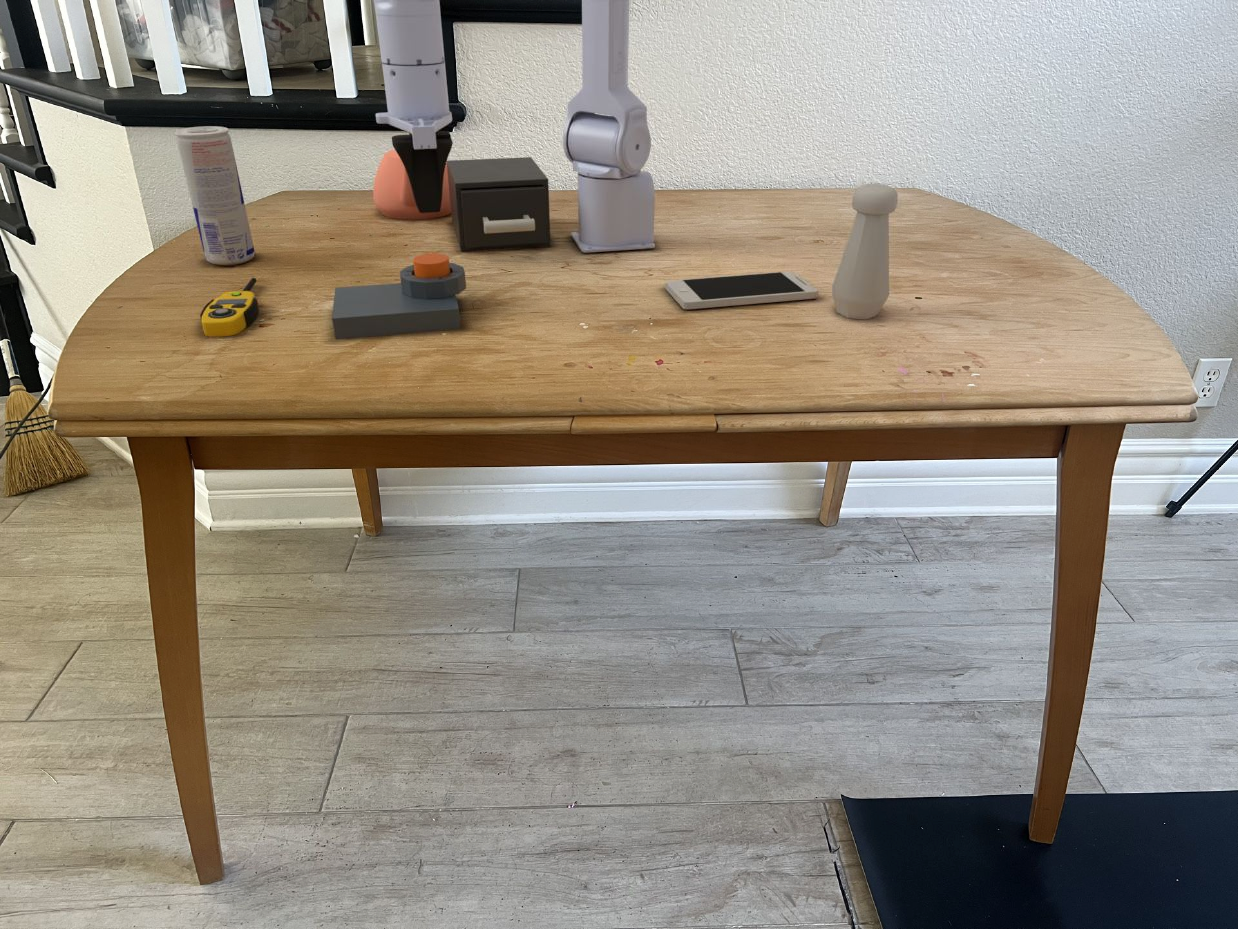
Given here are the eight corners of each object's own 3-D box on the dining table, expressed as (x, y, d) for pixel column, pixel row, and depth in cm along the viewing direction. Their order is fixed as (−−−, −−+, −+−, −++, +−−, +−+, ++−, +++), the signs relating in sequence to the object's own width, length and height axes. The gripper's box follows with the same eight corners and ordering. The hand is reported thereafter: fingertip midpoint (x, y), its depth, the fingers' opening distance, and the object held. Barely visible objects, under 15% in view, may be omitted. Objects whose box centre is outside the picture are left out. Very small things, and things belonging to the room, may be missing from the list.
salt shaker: (886, 324, 87) (909, 195, 81) (829, 320, 88) (847, 191, 82) (882, 305, 92) (904, 181, 85) (828, 300, 93) (846, 178, 86)
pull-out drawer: (553, 252, 104) (551, 196, 101) (469, 258, 102) (464, 201, 99) (531, 217, 118) (529, 167, 115) (457, 221, 116) (452, 170, 113)
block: (464, 295, 94) (461, 259, 91) (473, 328, 85) (470, 289, 83) (338, 305, 91) (332, 268, 89) (335, 340, 83) (328, 300, 81)
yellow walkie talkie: (188, 320, 82) (229, 269, 94) (193, 339, 83) (233, 286, 95) (241, 318, 82) (275, 268, 95) (246, 337, 83) (278, 285, 96)
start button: (448, 268, 90) (447, 252, 89) (451, 279, 87) (450, 262, 86) (414, 270, 89) (412, 254, 88) (415, 281, 86) (413, 264, 86)
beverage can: (266, 256, 105) (239, 127, 97) (230, 269, 100) (199, 135, 93) (232, 250, 107) (203, 123, 99) (195, 263, 102) (162, 130, 95)
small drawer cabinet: (550, 246, 110) (548, 178, 105) (460, 252, 107) (454, 183, 103) (533, 219, 121) (531, 156, 116) (452, 223, 118) (446, 160, 114)
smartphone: (664, 287, 96) (664, 279, 95) (791, 277, 99) (792, 269, 99) (684, 310, 90) (684, 301, 90) (818, 298, 93) (819, 290, 93)
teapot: (461, 195, 132) (455, 130, 127) (459, 227, 116) (452, 155, 112) (380, 197, 130) (372, 131, 125) (368, 230, 115) (357, 156, 110)
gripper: (368, 55, 84) (387, 195, 91) (369, 72, 72) (390, 233, 79) (441, 53, 86) (453, 192, 93) (453, 71, 74) (466, 228, 81)
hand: (429, 210), depth 86 cm, fingers closed
